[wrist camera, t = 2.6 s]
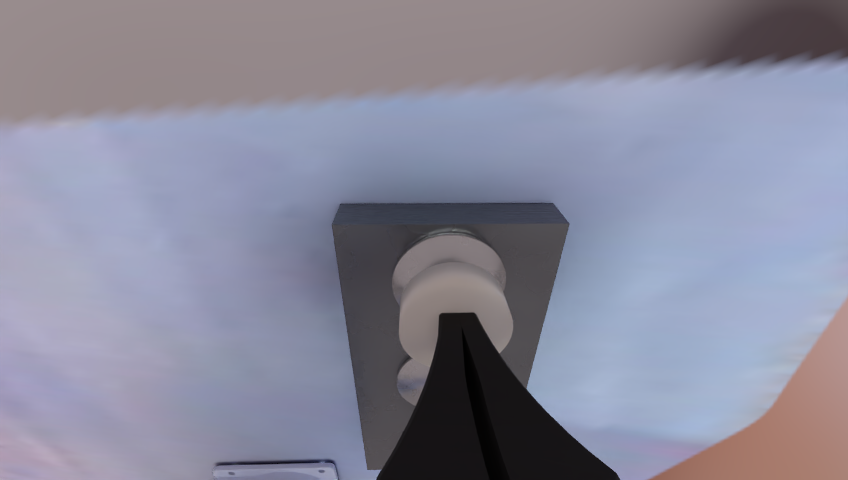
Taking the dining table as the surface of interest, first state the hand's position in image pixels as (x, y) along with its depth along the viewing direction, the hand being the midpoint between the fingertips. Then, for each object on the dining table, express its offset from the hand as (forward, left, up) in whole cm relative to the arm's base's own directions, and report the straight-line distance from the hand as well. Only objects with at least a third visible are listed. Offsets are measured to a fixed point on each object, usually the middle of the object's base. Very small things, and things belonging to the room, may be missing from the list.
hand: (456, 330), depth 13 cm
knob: (0, 0, -3) cm, 3 cm away
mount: (0, -7, -5) cm, 9 cm away
